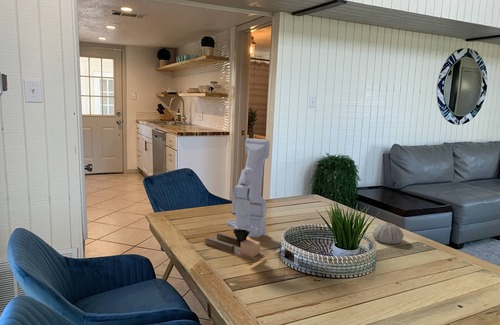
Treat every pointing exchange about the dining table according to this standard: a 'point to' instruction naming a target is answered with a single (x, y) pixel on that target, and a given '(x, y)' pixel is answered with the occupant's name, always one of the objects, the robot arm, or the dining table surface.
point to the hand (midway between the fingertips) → (241, 246)
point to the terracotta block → (250, 247)
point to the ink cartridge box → (233, 203)
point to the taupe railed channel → (230, 246)
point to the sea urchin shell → (388, 233)
